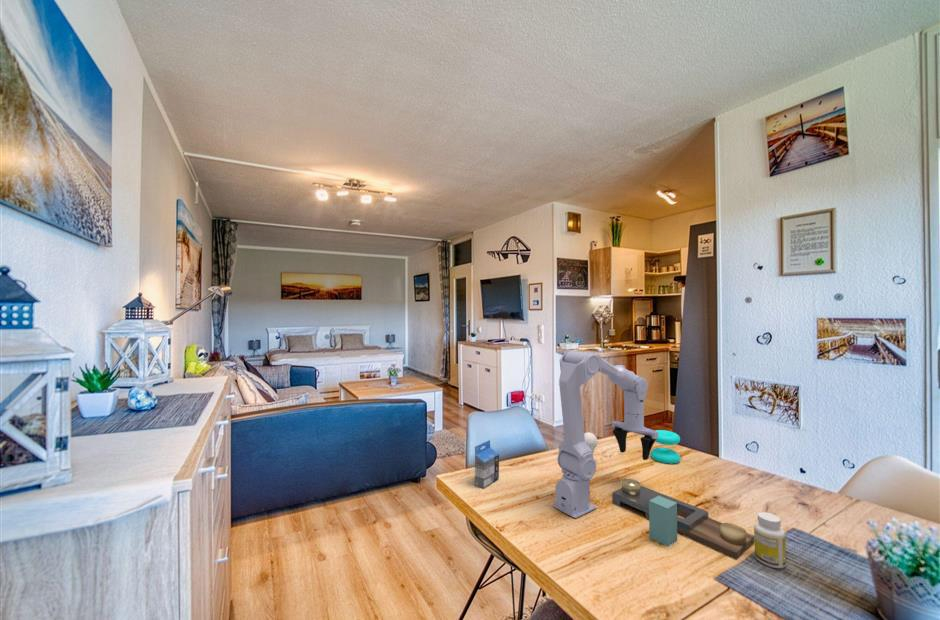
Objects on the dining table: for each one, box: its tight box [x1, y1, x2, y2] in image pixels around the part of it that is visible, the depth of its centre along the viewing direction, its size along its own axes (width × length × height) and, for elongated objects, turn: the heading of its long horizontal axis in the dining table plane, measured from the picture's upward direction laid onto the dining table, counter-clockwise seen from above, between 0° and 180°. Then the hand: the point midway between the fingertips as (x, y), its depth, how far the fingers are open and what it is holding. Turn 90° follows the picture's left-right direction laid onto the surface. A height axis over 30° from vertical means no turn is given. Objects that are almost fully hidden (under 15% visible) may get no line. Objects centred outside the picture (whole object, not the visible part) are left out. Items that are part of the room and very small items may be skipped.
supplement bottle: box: [753, 511, 787, 569], centre depth 83 cm, size 5×5×10 cm
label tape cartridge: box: [474, 439, 500, 489], centre depth 121 cm, size 9×4×12 cm, turn 143°
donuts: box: [649, 429, 681, 465], centre depth 141 cm, size 10×10×10 cm
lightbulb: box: [584, 431, 599, 454], centre depth 138 cm, size 6×6×11 cm
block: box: [648, 496, 678, 548], centre depth 91 cm, size 4×4×9 cm
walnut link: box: [645, 509, 754, 560], centre depth 95 cm, size 11×21×4 cm, turn 36°
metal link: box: [611, 478, 709, 532], centre depth 103 cm, size 11×21×5 cm, turn 36°
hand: (633, 455), depth 119 cm, fingers open, 7 cm apart
